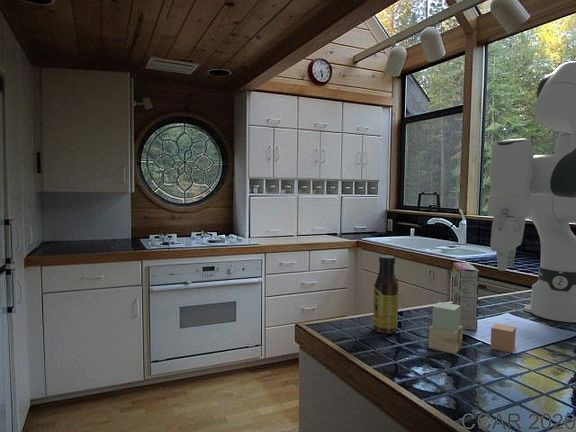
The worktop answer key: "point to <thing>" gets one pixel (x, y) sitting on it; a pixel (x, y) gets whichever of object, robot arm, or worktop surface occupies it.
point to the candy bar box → (466, 293)
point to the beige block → (445, 339)
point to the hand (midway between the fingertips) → (505, 267)
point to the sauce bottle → (386, 297)
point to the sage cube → (446, 316)
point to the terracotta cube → (503, 337)
